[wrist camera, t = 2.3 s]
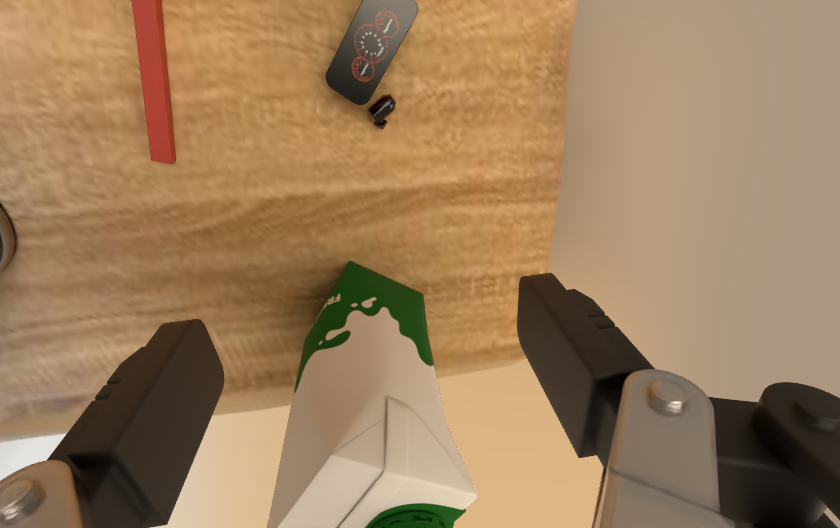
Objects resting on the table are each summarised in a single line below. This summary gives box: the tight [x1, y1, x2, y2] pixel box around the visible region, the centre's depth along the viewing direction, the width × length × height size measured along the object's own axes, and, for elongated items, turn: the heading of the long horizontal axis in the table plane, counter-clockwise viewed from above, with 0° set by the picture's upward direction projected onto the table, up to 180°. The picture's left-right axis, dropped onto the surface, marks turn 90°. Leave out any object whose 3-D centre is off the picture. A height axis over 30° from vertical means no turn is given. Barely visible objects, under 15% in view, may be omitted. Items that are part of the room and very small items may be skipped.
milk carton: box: [267, 261, 478, 528], centre depth 26 cm, size 9×9×20 cm
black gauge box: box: [326, 0, 418, 129], centre depth 24 cm, size 5×7×3 cm, turn 146°
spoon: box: [132, 0, 176, 163], centre depth 23 cm, size 4×17×1 cm, turn 168°
